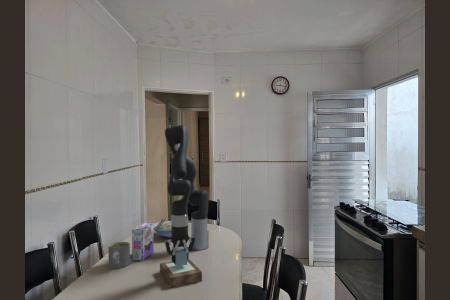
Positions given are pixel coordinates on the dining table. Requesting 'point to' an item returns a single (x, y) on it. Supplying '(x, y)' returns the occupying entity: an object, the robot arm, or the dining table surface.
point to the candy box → (142, 241)
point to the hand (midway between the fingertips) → (180, 261)
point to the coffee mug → (119, 255)
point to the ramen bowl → (163, 228)
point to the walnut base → (180, 273)
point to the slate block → (180, 257)
